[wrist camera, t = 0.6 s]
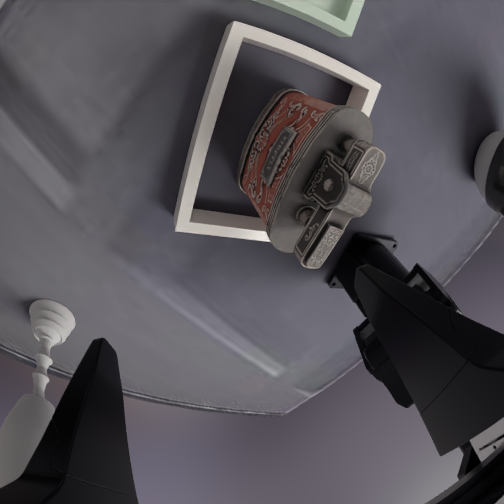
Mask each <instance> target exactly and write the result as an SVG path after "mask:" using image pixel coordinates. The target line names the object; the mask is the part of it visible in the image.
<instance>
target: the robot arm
mask: <svg viewBox="0 0 504 504" xmlns="http://www.w3.org/2000/svg"><path fill="white" fill-rule="evenodd" d="M397 246H398V242H397V241H396V240H392V239H387V238H382V237H377V236H372V235H367V234H361V233H356V234H355V235H354V236H353V237H352V239H351V241H350V243H349V245H348V247H347V249H346V251H345V252H344V254H343V256H342V258H341V260H340V262H339V263H338V265H337V267H336V269H335V271H334V272H333V274H332V276H331V278H330V279H329V281H328V285H329V287H330V288H344V289H345V291H346V292H347V294H348V295H349V297H350V298H351V300H352V301H353V302H354V303H356V305H357V306H358V308H359V309H360V311H361V312H362V314H363V315H364V317H367V318H366V319H365V320H364V321H363V322H362V323H361V324H360V325H359V326H357V327H356V328H355V329H354V330H353V332H354V335H355V338H356V341H357V344H358V347H359V349H360V352H361V355H362V358H363V361H364V364H365V367H366V369H367V370H368V371H369V373H370V374H371V375H373V376H374V377H375V378H376V379H378V380H379V381H380V382H382V383H384V385H385V386H386V387H387V389H388V390H389V391H390V393H391V394H392V396H393V398H394V400H395V401H396V402H397V403H398V404H399V405H401V406H403V407H405V408H409V407H410V406H412V405H413V404H415V405H416V407H417V409H418V411H419V413H420V415H421V417H422V419H423V421H424V423H425V425H426V428H427V429H428V432H429V434H430V436H431V438H432V440H433V442H434V444H435V446H436V449H437V451H438V453H439V455H440V456H443V455H445V454H446V453H448V452H450V451H452V450H454V449H455V448H457V447H459V448H460V449H461V451H462V452H463V454H464V456H463V459H462V463H461V466H460V469H459V473H458V476H457V477H458V479H459V481H457V482H456V483H455V484H454V485H452V486H451V487H449V488H448V489H447V490H445V491H444V492H442V493H441V494H439V495H438V496H436V497H435V498H433V499H432V500H430V501H429V502H427V503H425V504H504V334H501V333H499V332H497V331H495V330H492V329H491V328H489V327H486V326H484V325H482V324H480V323H477V322H475V321H473V320H471V319H469V318H467V317H465V316H464V315H462V312H461V310H460V309H459V308H458V306H457V305H456V303H455V302H454V301H453V299H452V298H451V296H450V295H449V294H448V292H447V291H446V290H445V289H444V288H443V287H442V286H441V284H440V283H439V282H438V281H437V280H436V279H435V278H434V277H433V276H432V275H431V274H430V273H428V272H427V271H426V270H425V269H424V268H423V267H421V266H420V265H419V264H418V263H416V264H415V266H414V267H413V269H412V271H411V272H410V273H409V271H408V270H407V269H406V268H405V267H404V266H403V265H402V264H401V263H400V262H399V260H398V259H397V258H396V257H395V256H394V255H393V253H394V251H395V250H396V248H397ZM0 504H138V499H137V496H136V491H135V485H134V480H133V474H132V468H131V462H130V456H129V448H128V442H127V433H126V424H125V413H124V402H123V392H122V385H121V379H120V373H119V366H118V359H117V354H116V352H115V350H114V349H113V348H112V346H111V345H110V344H109V343H108V341H107V340H106V339H105V338H98V339H94V340H93V341H92V343H91V344H90V346H89V348H88V350H87V351H86V353H85V355H84V357H83V358H82V360H81V362H80V364H79V366H78V367H77V369H76V371H75V373H74V375H73V377H72V379H71V380H70V382H69V384H68V386H67V388H66V390H65V392H64V394H63V396H62V398H61V400H60V402H59V404H58V406H57V408H56V410H55V412H54V414H53V416H52V419H51V420H50V422H49V424H48V426H47V428H46V430H45V432H44V434H43V436H42V438H41V440H40V442H39V444H38V446H37V448H36V450H35V451H34V453H33V455H32V457H31V459H30V461H29V462H28V464H27V466H26V468H25V470H24V471H23V473H22V474H21V475H20V476H19V477H18V478H17V479H16V480H14V481H13V482H11V483H9V484H7V485H5V486H3V487H1V488H0Z"/></svg>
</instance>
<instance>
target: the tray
mask: <svg viewBox="0 0 504 504" xmlns="http://www.w3.org/2000/svg"><path fill="white" fill-rule="evenodd" d="M252 1H255V2H258V3H261V4H264V5H267V6H270V7H272V8H275V9H278V10H280V11H283V12H285V13H288V14H290V15H293V16H295V17H298V18H300V19H302V20H305V21H307V22H309V23H311V24H314V25H316V26H318V27H320V28H322V29H324V30H326V31H328V32H330V33H332V34H334V35H336V36H338V37H352V34H353V31H354V29H355V26H356V23H357V20H358V18H359V15H360V12H361V9H362V7H363V4H364V1H365V0H252Z"/></svg>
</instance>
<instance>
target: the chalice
mask: <svg viewBox="0 0 504 504" xmlns="http://www.w3.org/2000/svg"><path fill="white" fill-rule="evenodd" d="M29 313H30V317H31V318H30V321H31V324H32V325H31V328H32V331H33V333H34V335H35V337H36V338H37V339H38V340H39V341H40V342H41V348H40V350H39V352H38V353H37V354H35V355H34V358H35V359H36V361H37V368H36V370H35V372H34V373H33V374H32V376H33V379H34V390H33V393H32V395H27V394H26V395H23V396H22V397H21V398H20V400H19V401H18V402H17V403H16V405H15V406H14V407H13V409H12V410H11V411H10V413H9V414H8V415H7V417H6V419H5V421H4V423H3V425H2V427H1V429H0V488H1V487H3V486H5V485H7V484H9V483H11V482H13V481H14V480H16V479H17V478H18V477H19V476H20V475H21V474H22V473H23V471H24V470H25V468H26V466H27V464H28V462H29V461H30V459H31V457H32V455H33V453H34V451H35V450H36V448H37V446H38V444H39V442H40V440H41V438H42V436H43V434H44V432H45V430H46V428H47V426H48V424H49V422H50V420H51V419H52V416H53V414H54V412H55V409H54V407H53V405H52V404H51V403H50V402H48V401H47V400H45V398H44V390H45V387H46V384H47V383H48V382H49V379H48V376H47V368H48V366H49V365H51V364H52V363H53V362H52V360H51V358H50V349H51V347H52V346H57V345H59V344H61V343H63V342H64V341H65V340H66V338H67V337H68V336H69V335H70V332H71V331H72V330H73V329H74V327H75V318H74V316H73V315H72V313H71V312H70V311H69V310H68V309H67V308H66V307H64V306H63V305H61V304H60V303H57V302H55V301H52V300H46V299H42V300H37V301H35V302H33V303H32V304H31V306H30V309H29Z"/></svg>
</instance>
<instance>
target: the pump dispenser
mask: <svg viewBox="0 0 504 504" xmlns="http://www.w3.org/2000/svg"><path fill="white" fill-rule="evenodd" d="M474 176H475V181H476V184H477V187H478V189H479V191H480V193H481V195H482V196H483V197H484V199H485V200H486V202H487V204H488V206H489V207H490V208H492V209H493V210H494V211H496V212H497V213H499V214H500V215H502V216H504V130H502V131H496V132H493V133H491V134H490V135H488V136H487V137H486V138H485V139H484V140H483V142H482V143H481V145H480V147H479V149H478V151H477V154H476V158H475V164H474Z"/></svg>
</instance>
